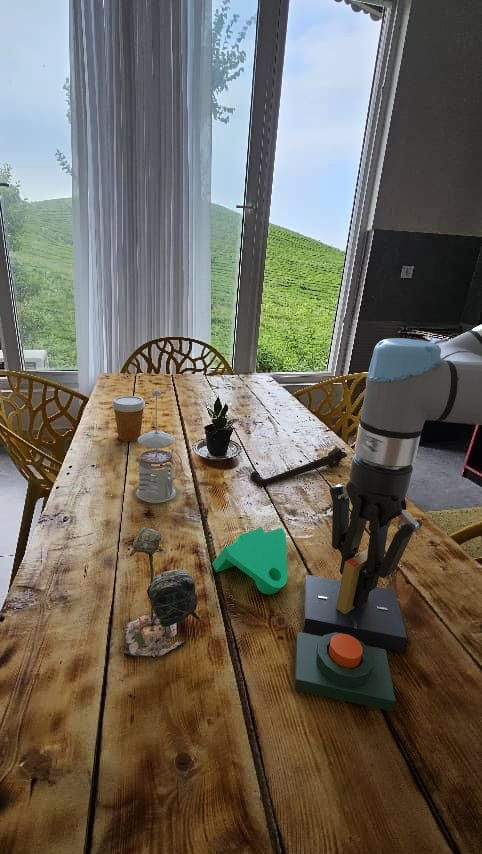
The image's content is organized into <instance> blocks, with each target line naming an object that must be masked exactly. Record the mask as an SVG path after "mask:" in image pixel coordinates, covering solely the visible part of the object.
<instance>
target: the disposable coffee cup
mask: <svg viewBox="0 0 482 854" xmlns="http://www.w3.org/2000/svg"><path fill="white" fill-rule="evenodd" d="M111 405H112V409H113V412H114V417H115V424H116V429H117V435H118V440H120V441H122V442H135V441H138V438H139V437H140V436H141V435H142V425H143V417H144V408H145V406H146V403H145V401H144V398H142V397H140V396H137V395H136V396H135V395H122V396H117V397H116V398H114V399H113V401H112V404H111Z"/></svg>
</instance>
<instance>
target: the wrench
mask: <svg viewBox="0 0 482 854" xmlns="http://www.w3.org/2000/svg"><path fill="white" fill-rule="evenodd" d="M347 457H348V453H347V452H345V451H343V450H342V449H341V448H340V447H337V446H336V447H334V448H333V449H332V450H331V451H329V452H328V453H327V455H326V456H323V457H320V458H318V459H316V460H313V461H310V462H307V463H305V464H303V465H300V466H297V467H295V468H292V469H289V470H287V471H284V472H281V473H279V474H276V475H273V476H271V477H267V478H263V477H261V474H260V472H258V471H256V470H253V471H252V472H251V473H250V479H251V480H252V481H254V482H255V483H257V484H258V485H259V486H262V487H263V486H266V485H270V484H274V483H276V482H280V481H284V480H286V479H290V478H292V477H296V476H299V475H302V474H305V473H308V472H312V471H314V470H317V469H320V468H323V467H325V466H329V467H335V466H338V465H339V464H340V463H341V461H342V460H343V459H345V458H347Z"/></svg>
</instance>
